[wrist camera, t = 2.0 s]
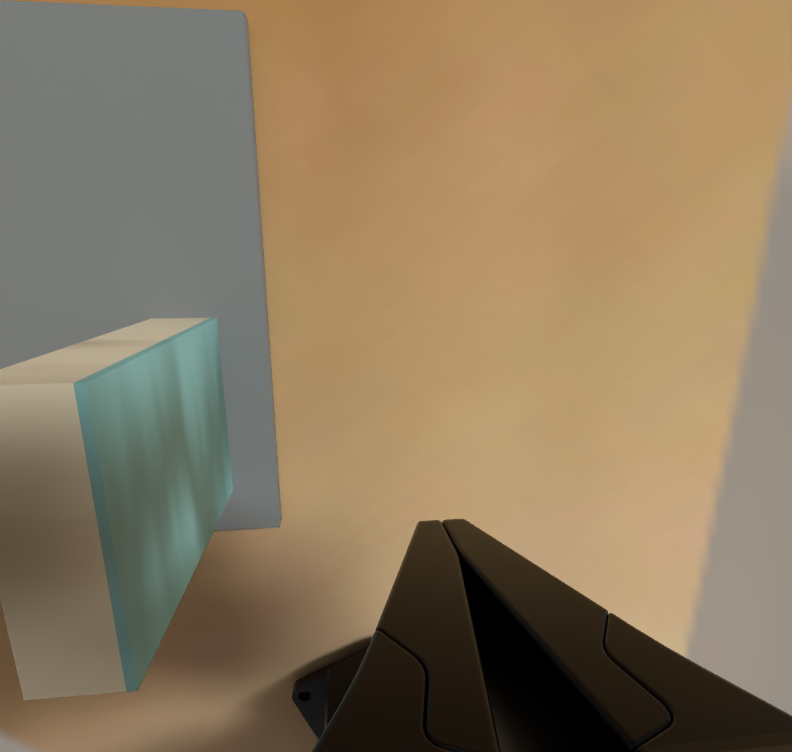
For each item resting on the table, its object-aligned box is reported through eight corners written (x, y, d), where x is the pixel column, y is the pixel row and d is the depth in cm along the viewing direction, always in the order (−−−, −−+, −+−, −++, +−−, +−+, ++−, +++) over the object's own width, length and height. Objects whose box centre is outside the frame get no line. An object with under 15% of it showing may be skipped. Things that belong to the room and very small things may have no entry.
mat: (281, 518, 18) (279, 527, 17) (-72, 537, 17) (-87, 547, 16) (247, 20, 14) (243, 11, 13) (-216, 1, 13) (-243, -11, 12)
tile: (233, 490, 17) (137, 691, 9) (173, 493, 17) (23, 700, 9) (216, 317, 15) (86, 382, 8) (151, 318, 15) (-51, 386, 7)
